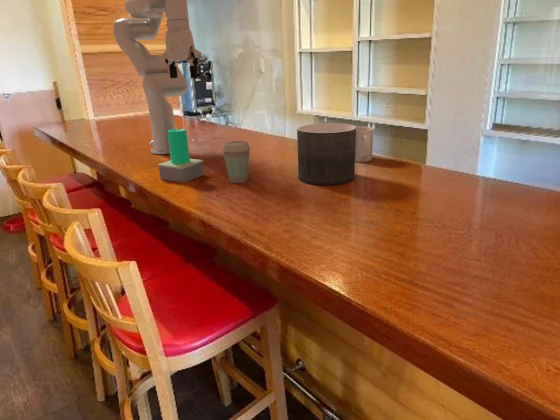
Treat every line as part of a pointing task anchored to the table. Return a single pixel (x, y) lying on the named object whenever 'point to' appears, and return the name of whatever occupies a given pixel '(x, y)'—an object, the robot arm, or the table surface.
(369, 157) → the mug
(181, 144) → the candle
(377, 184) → the table surface
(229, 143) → the coffee cup
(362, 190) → the table surface
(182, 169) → the pedestal
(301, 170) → the planter
